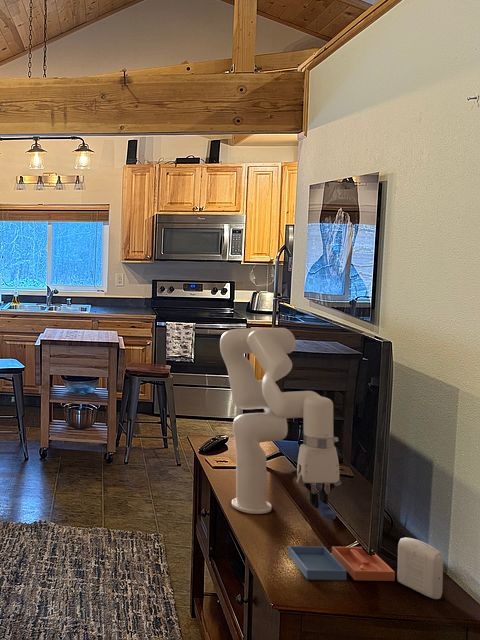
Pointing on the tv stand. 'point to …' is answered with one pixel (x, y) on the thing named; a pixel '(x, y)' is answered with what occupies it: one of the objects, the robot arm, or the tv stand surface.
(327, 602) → the tv stand surface
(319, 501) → the blue spoon
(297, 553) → the blue tray
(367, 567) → the terracotta spoon
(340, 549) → the terracotta tray
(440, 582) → the photo printer
